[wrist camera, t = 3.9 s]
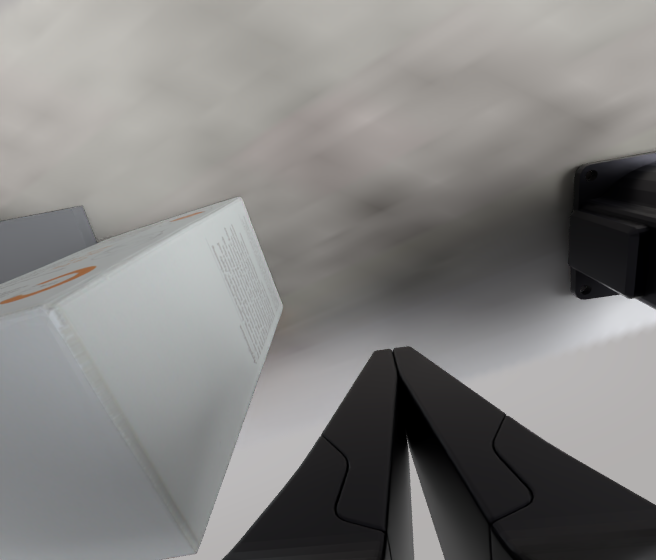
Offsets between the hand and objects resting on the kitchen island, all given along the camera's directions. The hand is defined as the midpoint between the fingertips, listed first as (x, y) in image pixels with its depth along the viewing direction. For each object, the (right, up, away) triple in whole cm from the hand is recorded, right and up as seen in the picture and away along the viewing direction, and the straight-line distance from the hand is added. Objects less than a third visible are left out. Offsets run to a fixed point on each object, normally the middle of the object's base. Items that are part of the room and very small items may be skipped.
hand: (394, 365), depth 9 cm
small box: (-8, +2, +11) cm, 14 cm away
